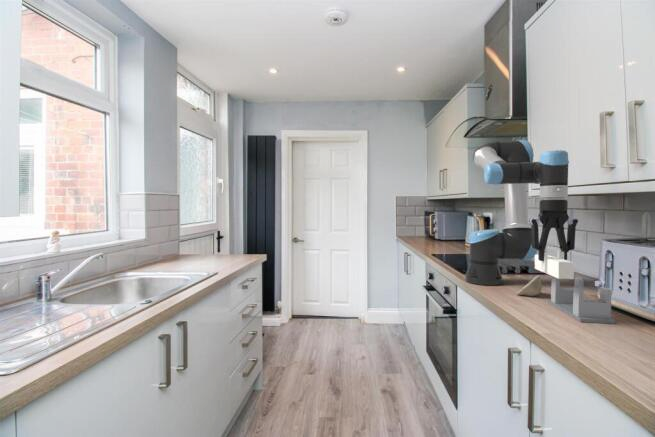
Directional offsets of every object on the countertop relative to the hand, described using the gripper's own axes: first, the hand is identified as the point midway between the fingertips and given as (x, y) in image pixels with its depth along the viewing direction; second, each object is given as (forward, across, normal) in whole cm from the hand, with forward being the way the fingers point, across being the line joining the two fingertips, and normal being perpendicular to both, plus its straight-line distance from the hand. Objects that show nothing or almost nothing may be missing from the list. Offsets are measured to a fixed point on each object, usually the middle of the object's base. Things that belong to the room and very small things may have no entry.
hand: (552, 271), depth 108 cm
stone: (+13, -1, +19) cm, 23 cm away
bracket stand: (+13, +7, 0) cm, 15 cm away
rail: (+1, 0, 0) cm, 1 cm away
